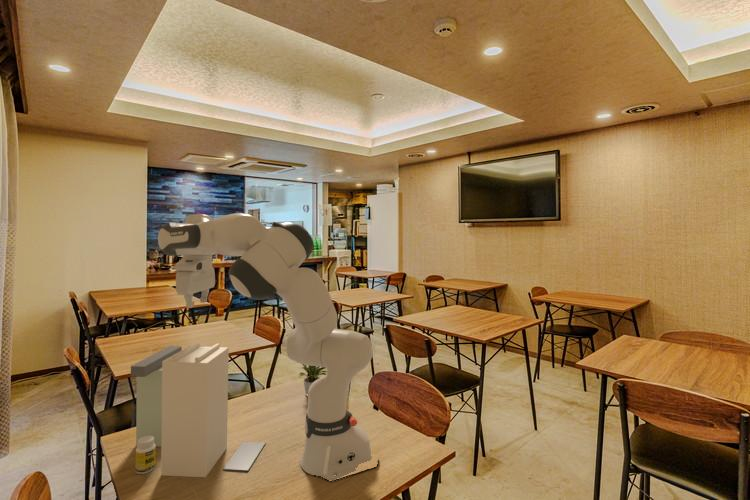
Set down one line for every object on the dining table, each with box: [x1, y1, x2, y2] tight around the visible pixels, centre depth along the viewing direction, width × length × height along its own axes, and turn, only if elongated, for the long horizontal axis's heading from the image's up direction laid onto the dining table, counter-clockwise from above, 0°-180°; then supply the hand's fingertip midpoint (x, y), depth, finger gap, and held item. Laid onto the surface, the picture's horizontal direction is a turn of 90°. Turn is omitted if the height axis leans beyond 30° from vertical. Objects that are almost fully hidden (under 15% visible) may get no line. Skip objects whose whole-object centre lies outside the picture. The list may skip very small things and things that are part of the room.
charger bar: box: [130, 345, 183, 378], centre depth 119 cm, size 20×4×3 cm, turn 179°
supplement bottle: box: [134, 436, 157, 475], centre depth 104 cm, size 5×5×8 cm
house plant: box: [294, 361, 327, 395], centre depth 155 cm, size 14×14×16 cm
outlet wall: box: [160, 342, 230, 478], centre depth 109 cm, size 14×12×32 cm
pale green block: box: [135, 367, 162, 447], centre depth 120 cm, size 10×8×24 cm
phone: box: [222, 441, 266, 473], centre depth 112 cm, size 14×7×1 cm, turn 177°
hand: (197, 304), depth 127 cm, fingers open, 8 cm apart
